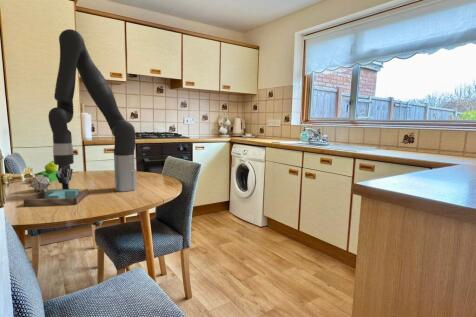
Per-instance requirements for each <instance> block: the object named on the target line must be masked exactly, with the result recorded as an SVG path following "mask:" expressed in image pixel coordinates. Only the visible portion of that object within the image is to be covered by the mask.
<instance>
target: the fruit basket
mask: <svg viewBox="0 0 476 317" xmlns="http://www.w3.org/2000/svg"><path fill="white" fill-rule="evenodd" d="M57 166H58V165H55V164H54V160H51V161H50V162H48V163H47V164H46V165H45V166H44V169H45V170H43V171H40V172H36V173H33V176H34V175H35V176H38V175H40V173H41V175H43V176H45V175H46V177H47V178H48V179H51V180H50V181H49V184H50V183H52V182H55V181H58V179H57V177H56V173H58V167H57Z"/></svg>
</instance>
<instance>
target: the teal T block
mask: <svg viewBox="0 0 476 317" xmlns="http://www.w3.org/2000/svg"><path fill="white" fill-rule="evenodd" d="M79 190H80V189H79V188H69V189H62V188H61V189H60V188H59V189H48V190H47V189H46V191H45V190H44V191H45V196H44V199H55V198H75V197H76V196H77V195H79V194H80V191H79Z"/></svg>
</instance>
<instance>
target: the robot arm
mask: <svg viewBox="0 0 476 317" xmlns="http://www.w3.org/2000/svg"><path fill="white" fill-rule="evenodd" d="M58 41H59V42H58V43H59V64H58V65H59V66H58V71H57V77H56V82H55V88H54V99H55V101H56V107H53V108H51V109H50V110H49V111H48V122H49V126H50V130H51V132H52V153H53V155H52V156H53V161H54V164H55V165H57V166H58V167H57V171H58V173H56V177H57V181H58V183H59V184H61V187H62V188H61V189H70V186H69V185H70V184H69V183H70V181H71V180H72V176H73V170H74V169H73V168H72V167H71V165H72V164H74V163H75V160H74V148H73V146H74V145H73V138H72V132H71V130H69V129H68V123H71V121H72V120H73V118H74V95H75V90H76V78H77V75H76V74H77V72H78V74H79V76H80V79H81V81H82V83H83V85H84V87H85V89H86V91H87V92H88V95H90V98H91V99H92V101H93V102H94V104H95V105H96V107H97V108H98V110H99V111H100V113H102V115H103V117H104V118H105V120H106V122H107V124H108V126H109V129H110V131H111V134H112V136H113V137H114V148H113V162H114V163H113V165H114V166H113V167H114V168H113V169H114V190H115V191H116V192H129V191H135V190H136V189H137V174H136V173H137V171H136V170H137V169H136V164H135V162H136V160H135V150H136V131H135V130H136V129H135V126H134V125H133V124H132V123H131V122H128V121H127V120H126V119H125V118H124V116H123V115H122V113H121V111H120V109H119V106H118V103H117V101H116V98H115V95H114V93H113V90H112V88H111V86H110V85H109V82H107V81H108V80H106V78H105V77H104V75H103V74H102V72H101V71H100V69H99V68H98V67H97V66H96V65H95V63H94V61H93V60H92V57H91V56H90V54H89V52H88V49H87V47H86V44H85V40H84V38H83V36H82V35H81V33H79V32H78V31H77V30H74V29H69V28H68V29H65V30H62V31H61V33H60V34H59V35H58Z"/></svg>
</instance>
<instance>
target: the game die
mask: <svg viewBox="0 0 476 317" xmlns="http://www.w3.org/2000/svg"><path fill="white" fill-rule="evenodd" d="M50 180H51V179H48V178H47V177H46V175H45V176H43V175H41V173H40V175H38V176H35V180H34V181H30V182H31V183H30V185H28V187H29V188H30V187H31V188H32V189H34V191H35V192H36V190H37V191H39V192H40V191H45V190H46V191H47V190H49V188H48V187H49V186H51V184H50V183H49V181H50Z"/></svg>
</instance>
